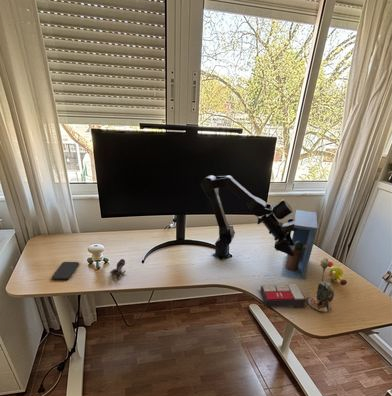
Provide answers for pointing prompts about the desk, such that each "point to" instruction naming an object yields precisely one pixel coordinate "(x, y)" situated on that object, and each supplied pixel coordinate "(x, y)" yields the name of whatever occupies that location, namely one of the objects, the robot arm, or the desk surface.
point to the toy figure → (336, 273)
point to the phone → (65, 271)
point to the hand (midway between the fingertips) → (293, 251)
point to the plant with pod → (322, 293)
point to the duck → (294, 260)
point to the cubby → (303, 240)
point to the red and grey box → (282, 295)
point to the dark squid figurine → (119, 269)
